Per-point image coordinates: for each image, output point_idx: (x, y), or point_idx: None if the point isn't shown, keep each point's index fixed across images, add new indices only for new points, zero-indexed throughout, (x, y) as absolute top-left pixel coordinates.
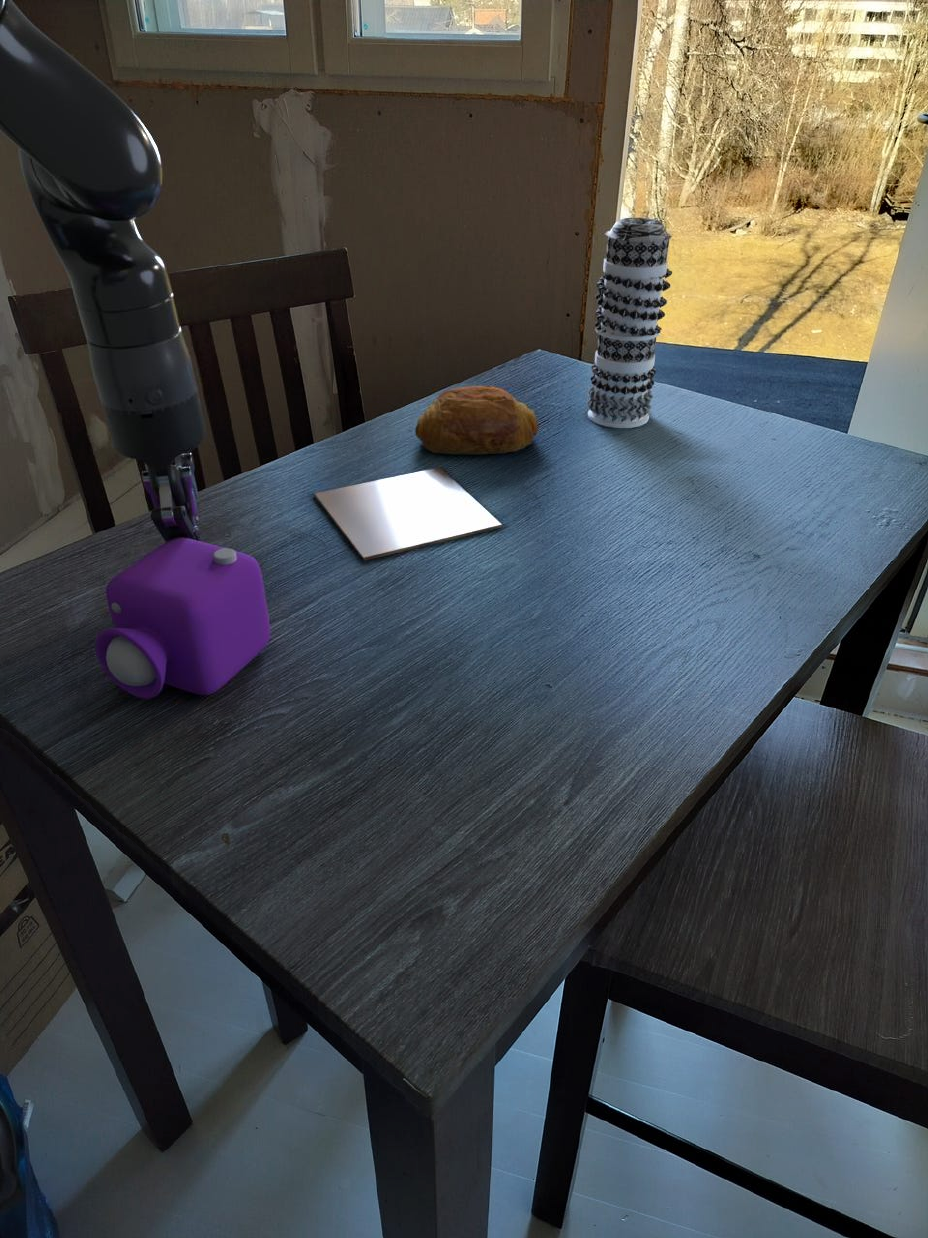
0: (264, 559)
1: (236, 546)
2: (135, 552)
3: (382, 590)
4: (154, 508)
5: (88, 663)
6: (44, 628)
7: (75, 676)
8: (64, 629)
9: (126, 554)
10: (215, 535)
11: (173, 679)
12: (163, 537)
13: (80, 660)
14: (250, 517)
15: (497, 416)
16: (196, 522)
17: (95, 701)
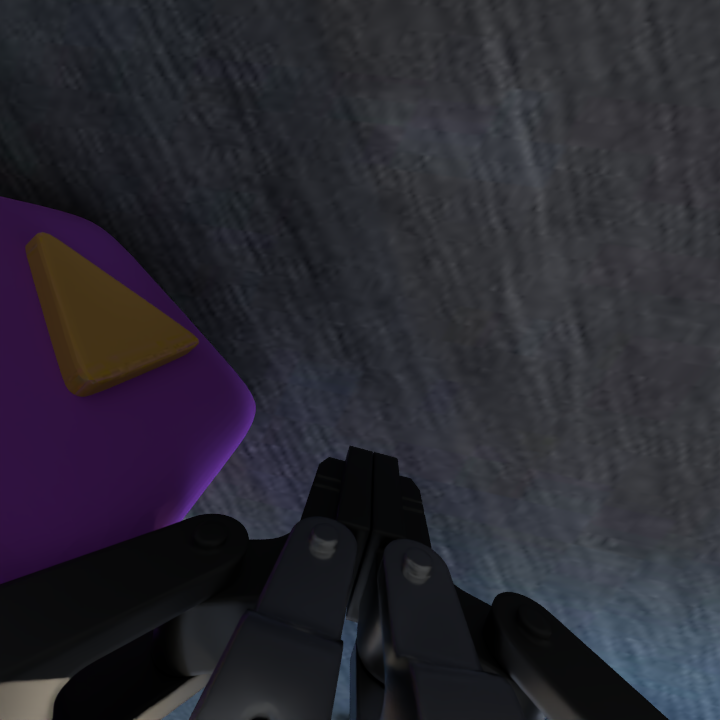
0: (454, 580)
1: (545, 546)
2: (672, 328)
3: None
4: (196, 711)
5: (185, 129)
6: (402, 20)
7: (139, 88)
8: (371, 81)
9: (677, 303)
10: (628, 519)
11: None
12: (79, 558)
13: (206, 109)
14: (661, 603)
15: None
16: (350, 662)
17: (24, 127)
